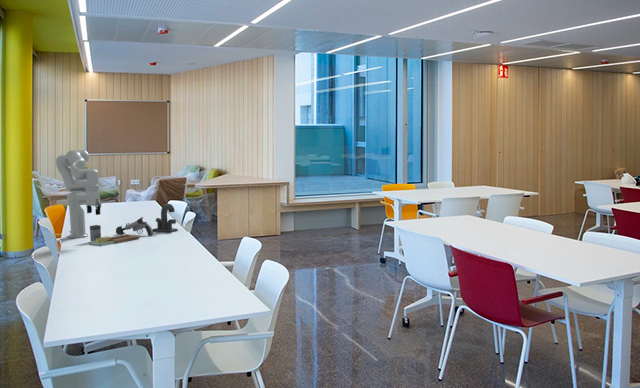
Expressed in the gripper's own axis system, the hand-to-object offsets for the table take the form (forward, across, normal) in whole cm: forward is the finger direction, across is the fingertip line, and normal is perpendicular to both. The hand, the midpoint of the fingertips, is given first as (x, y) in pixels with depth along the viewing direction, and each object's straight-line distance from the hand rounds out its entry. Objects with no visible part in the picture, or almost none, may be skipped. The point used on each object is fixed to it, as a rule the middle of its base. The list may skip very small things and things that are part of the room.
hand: (93, 213), depth 371 cm
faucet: (+19, +6, +56) cm, 59 cm away
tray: (+18, +12, -2) cm, 22 cm away
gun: (+20, +2, +30) cm, 36 cm away
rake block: (+19, +1, 0) cm, 19 cm away
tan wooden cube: (+18, +13, -4) cm, 23 cm away
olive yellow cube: (+18, +13, 0) cm, 22 cm away
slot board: (+19, +12, +12) cm, 25 cm away
